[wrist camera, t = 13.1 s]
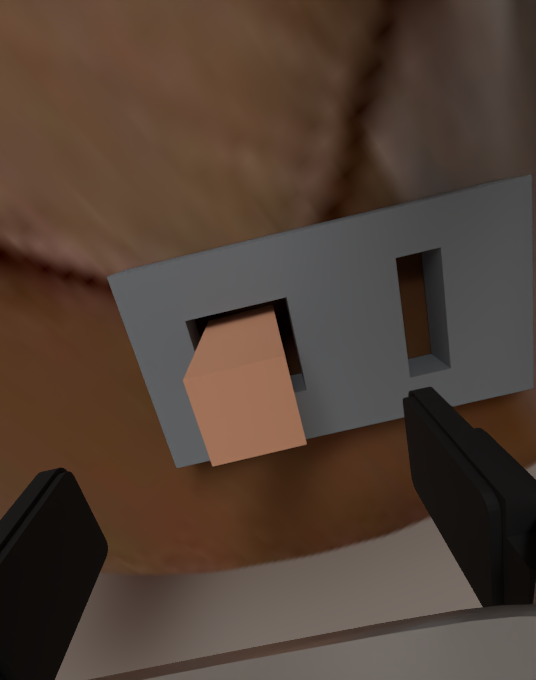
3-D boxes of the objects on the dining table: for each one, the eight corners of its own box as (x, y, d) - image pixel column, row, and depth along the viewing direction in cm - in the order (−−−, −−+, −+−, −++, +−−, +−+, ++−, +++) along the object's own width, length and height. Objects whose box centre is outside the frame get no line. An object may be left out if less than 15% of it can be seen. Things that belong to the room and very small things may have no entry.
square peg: (208, 320, 23) (182, 380, 14) (272, 304, 23) (284, 355, 14) (226, 378, 24) (212, 466, 15) (287, 364, 24) (306, 444, 15)
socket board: (122, 270, 22) (106, 276, 19) (500, 179, 21) (532, 174, 19) (183, 444, 25) (176, 468, 23) (506, 372, 25) (534, 388, 22)
